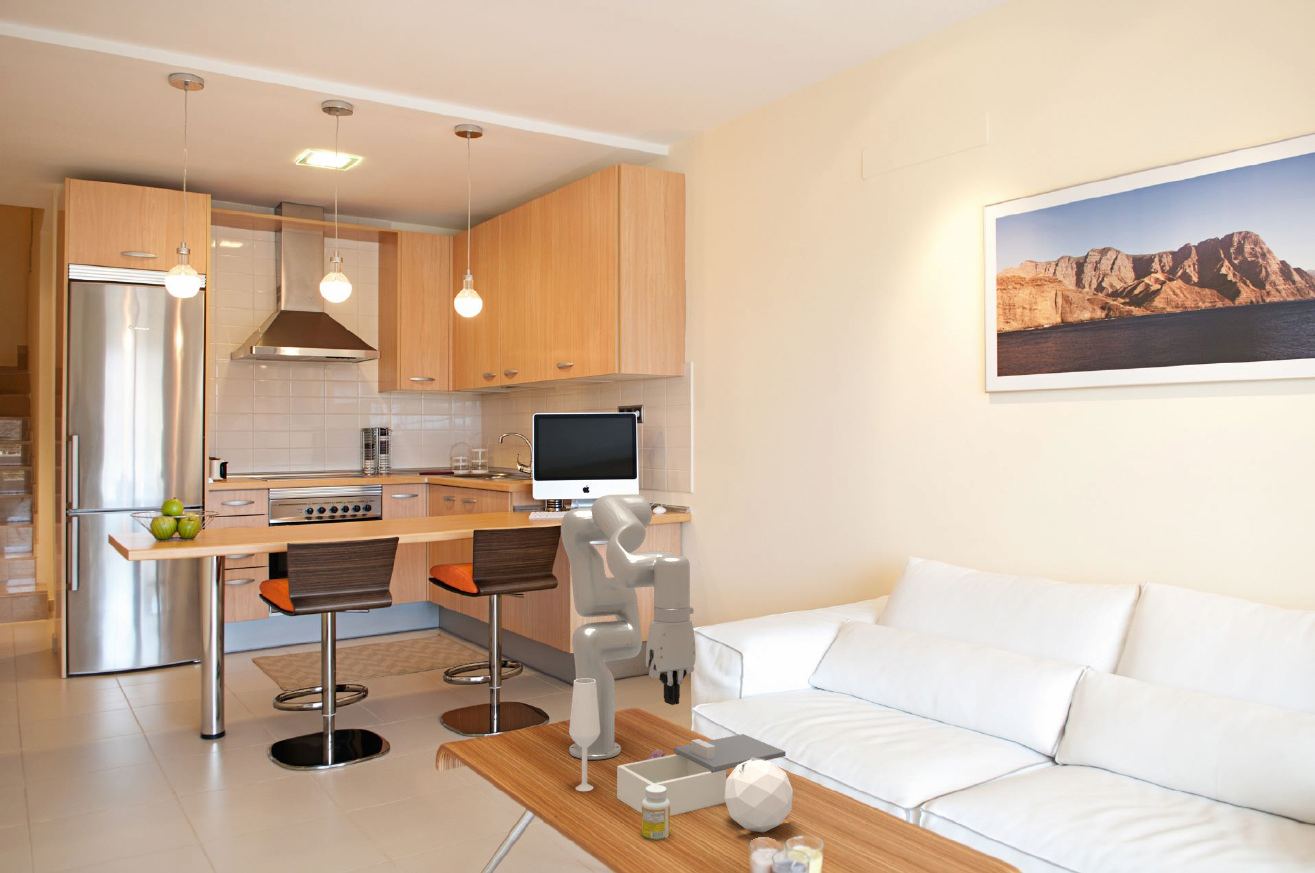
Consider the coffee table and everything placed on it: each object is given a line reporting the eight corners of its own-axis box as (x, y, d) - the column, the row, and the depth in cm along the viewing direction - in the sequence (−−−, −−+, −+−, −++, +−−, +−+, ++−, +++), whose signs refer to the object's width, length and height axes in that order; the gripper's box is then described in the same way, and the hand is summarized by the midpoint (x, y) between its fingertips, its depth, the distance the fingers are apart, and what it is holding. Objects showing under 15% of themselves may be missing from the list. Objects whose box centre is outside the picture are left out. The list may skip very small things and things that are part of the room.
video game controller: (649, 791, 206) (663, 763, 206) (631, 780, 207) (645, 753, 207) (657, 776, 216) (671, 749, 216) (640, 766, 217) (654, 739, 216)
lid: (673, 752, 203) (673, 736, 203) (743, 738, 213) (743, 722, 213) (713, 771, 191) (713, 754, 191) (785, 756, 201) (785, 739, 201)
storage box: (617, 802, 195) (617, 765, 195) (688, 786, 205) (688, 751, 205) (652, 825, 183) (652, 785, 183) (726, 806, 193) (726, 769, 193)
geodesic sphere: (754, 822, 170) (780, 752, 176) (697, 803, 179) (724, 737, 186) (790, 851, 178) (814, 783, 184) (734, 831, 187) (759, 767, 194)
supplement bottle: (657, 847, 173) (657, 795, 173) (635, 839, 176) (635, 788, 176) (675, 838, 177) (675, 787, 177) (654, 831, 180) (654, 781, 180)
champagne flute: (576, 785, 205) (577, 676, 206) (604, 789, 203) (605, 678, 204) (563, 795, 199) (564, 683, 200) (592, 799, 197) (592, 685, 197)
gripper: (690, 609, 202) (690, 694, 202) (632, 615, 194) (631, 704, 193) (711, 614, 196) (711, 701, 195) (651, 621, 187) (651, 712, 187)
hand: (671, 702), depth 194 cm, fingers closed
